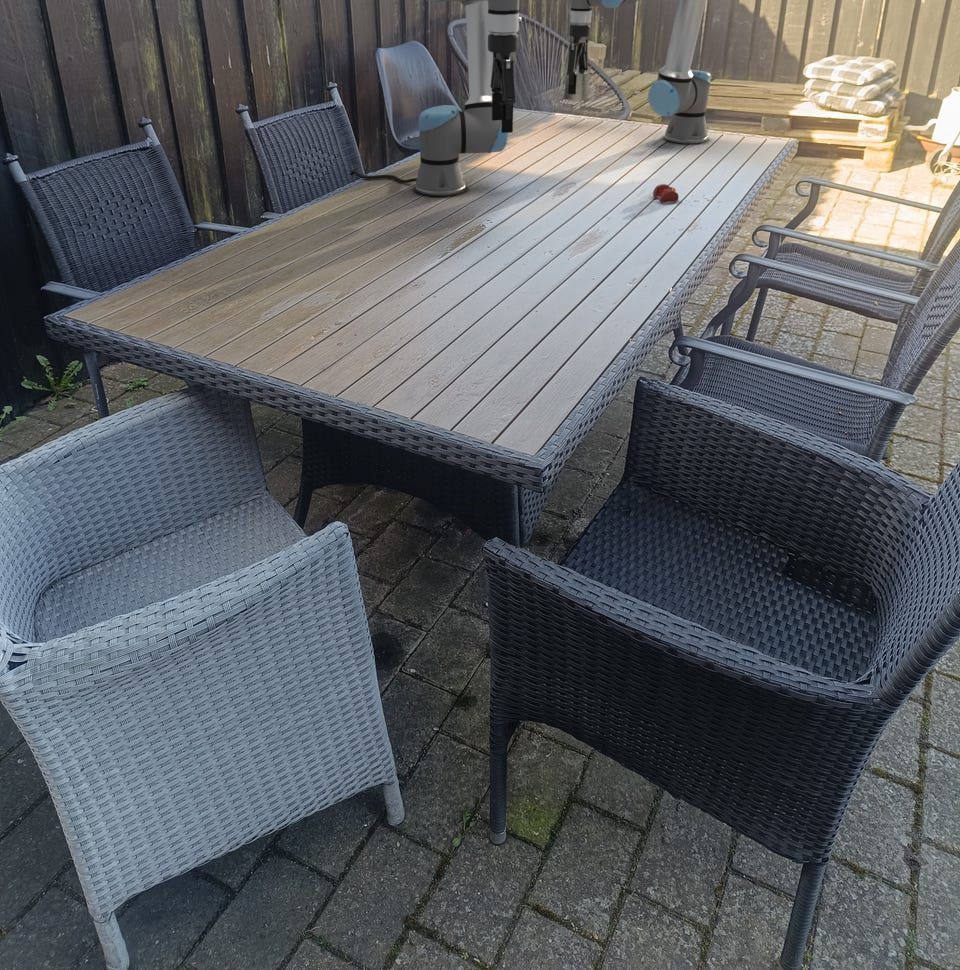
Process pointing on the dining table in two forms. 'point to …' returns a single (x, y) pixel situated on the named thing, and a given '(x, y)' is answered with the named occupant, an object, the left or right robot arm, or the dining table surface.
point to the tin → (578, 86)
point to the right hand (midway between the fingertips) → (576, 91)
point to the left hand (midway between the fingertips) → (502, 126)
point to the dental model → (665, 193)
